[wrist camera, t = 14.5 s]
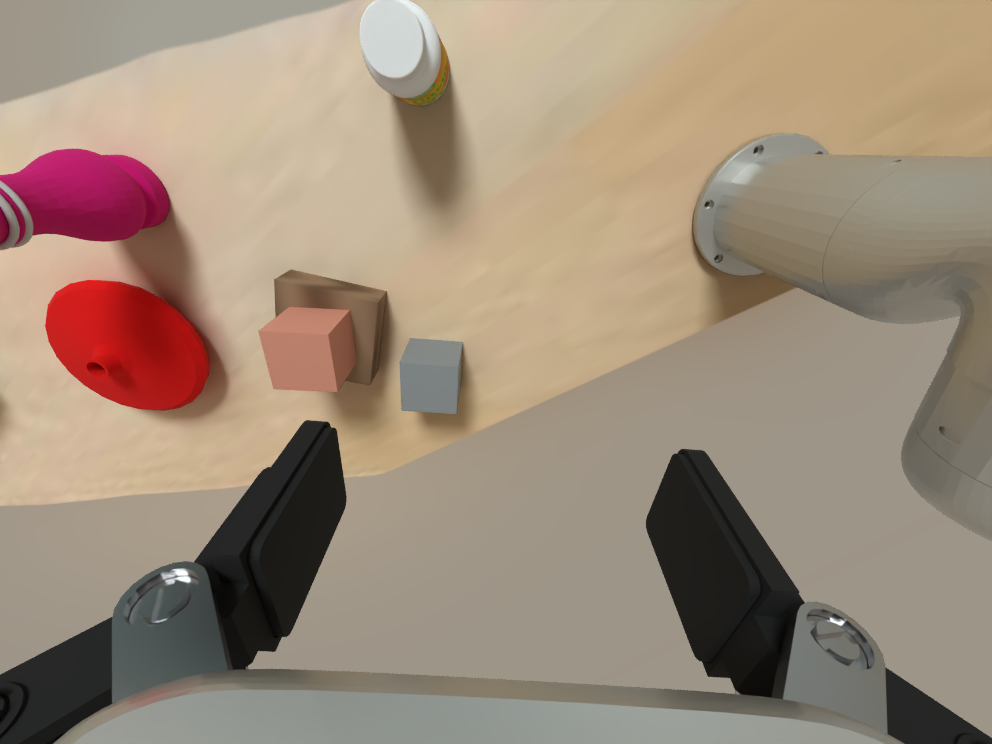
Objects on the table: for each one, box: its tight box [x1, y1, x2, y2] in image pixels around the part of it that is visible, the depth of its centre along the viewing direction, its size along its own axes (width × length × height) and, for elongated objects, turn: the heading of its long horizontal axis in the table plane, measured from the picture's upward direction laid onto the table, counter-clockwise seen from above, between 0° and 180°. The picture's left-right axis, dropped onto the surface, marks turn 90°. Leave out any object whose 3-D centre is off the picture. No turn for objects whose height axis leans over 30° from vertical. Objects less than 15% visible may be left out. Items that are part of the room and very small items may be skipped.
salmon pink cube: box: [259, 307, 357, 392], centre depth 38 cm, size 6×6×6 cm
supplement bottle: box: [359, 0, 450, 106], centre depth 29 cm, size 5×5×10 cm
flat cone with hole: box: [45, 280, 209, 410], centre depth 42 cm, size 16×16×7 cm
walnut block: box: [274, 270, 387, 385], centre depth 43 cm, size 10×10×4 cm
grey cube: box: [400, 338, 463, 414], centre depth 44 cm, size 6×6×6 cm
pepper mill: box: [0, 149, 169, 250], centre depth 29 cm, size 7×7×20 cm
